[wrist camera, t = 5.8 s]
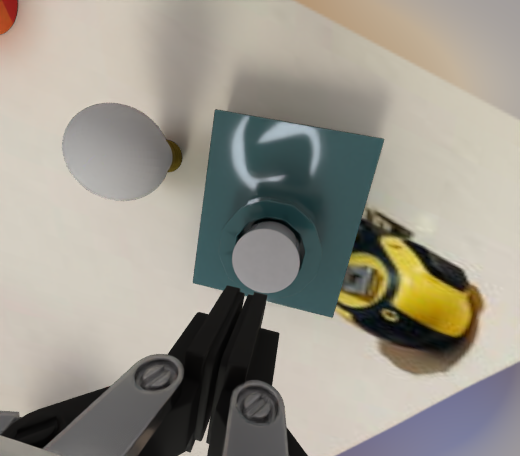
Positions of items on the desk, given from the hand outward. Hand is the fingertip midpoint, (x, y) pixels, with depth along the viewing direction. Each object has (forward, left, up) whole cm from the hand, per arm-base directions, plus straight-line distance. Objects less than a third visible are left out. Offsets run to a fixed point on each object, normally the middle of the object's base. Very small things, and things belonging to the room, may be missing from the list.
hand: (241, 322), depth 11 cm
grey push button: (0, 0, -9) cm, 9 cm away
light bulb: (-5, -10, -14) cm, 18 cm away
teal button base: (-2, 0, -14) cm, 14 cm away
